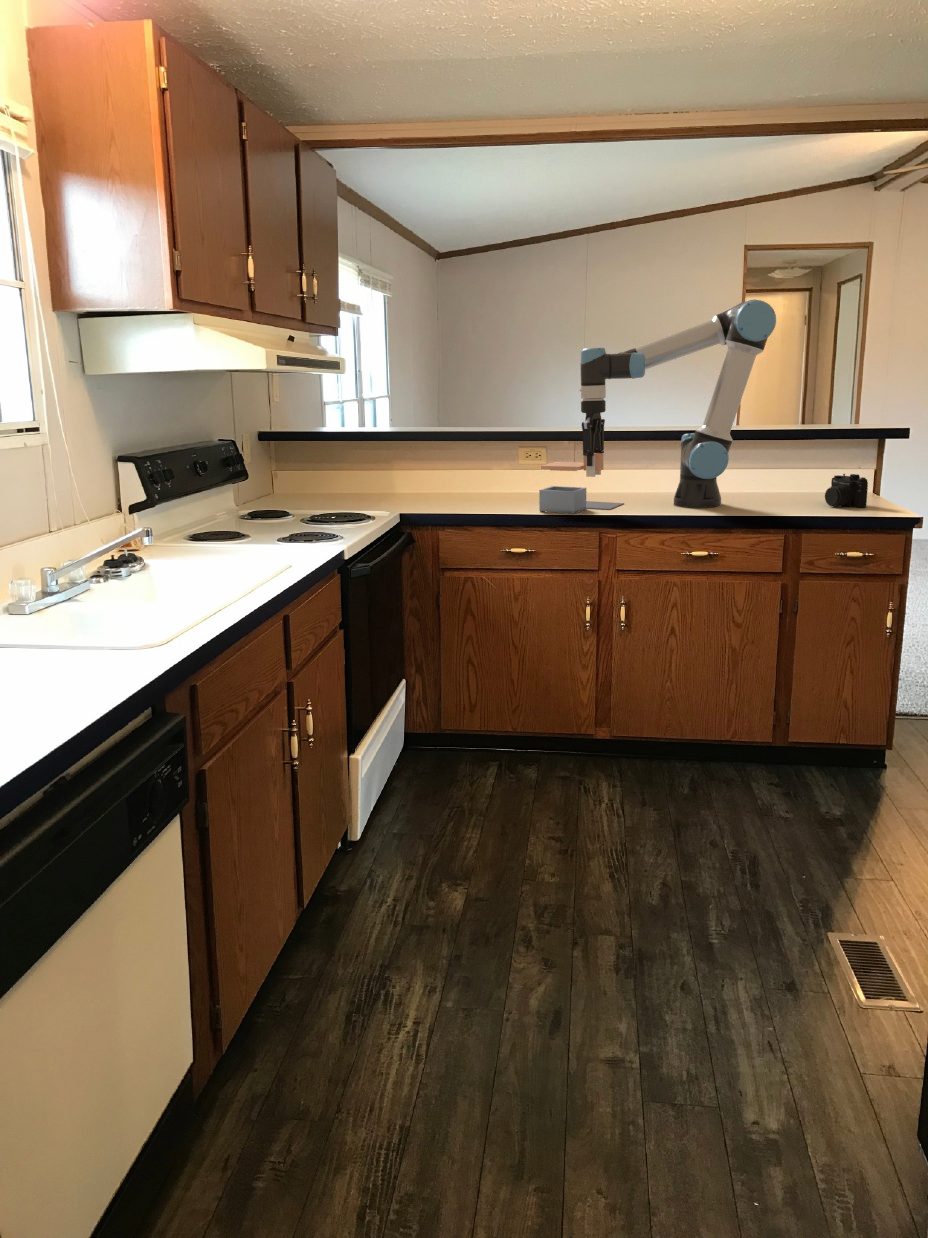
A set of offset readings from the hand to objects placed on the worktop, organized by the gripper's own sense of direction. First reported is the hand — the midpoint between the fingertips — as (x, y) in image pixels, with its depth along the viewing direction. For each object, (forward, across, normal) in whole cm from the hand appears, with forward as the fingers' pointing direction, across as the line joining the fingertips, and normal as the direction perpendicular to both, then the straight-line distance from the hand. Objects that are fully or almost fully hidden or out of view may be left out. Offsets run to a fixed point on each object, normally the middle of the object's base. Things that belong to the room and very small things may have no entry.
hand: (593, 475), depth 311 cm
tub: (+12, 0, -11) cm, 16 cm away
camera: (+13, -41, +68) cm, 80 cm away
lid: (-2, 0, -7) cm, 7 cm away
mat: (+12, -13, -6) cm, 18 cm away
